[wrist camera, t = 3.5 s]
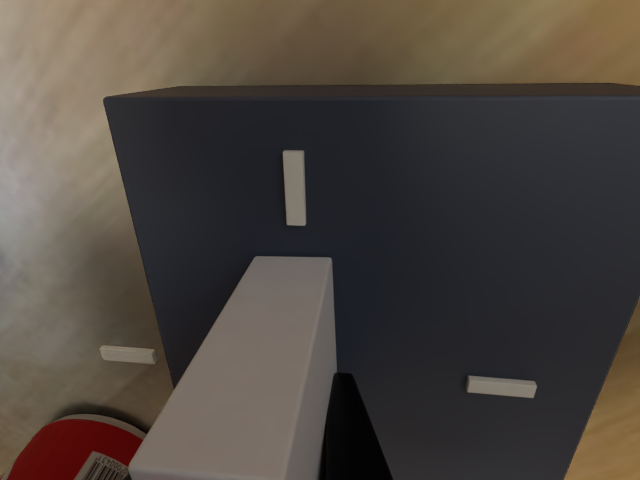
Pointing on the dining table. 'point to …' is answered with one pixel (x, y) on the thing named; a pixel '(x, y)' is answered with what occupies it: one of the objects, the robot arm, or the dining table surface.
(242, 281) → the tap handle
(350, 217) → the plate
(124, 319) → the dining table surface
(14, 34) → the dining table surface
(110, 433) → the beverage can
